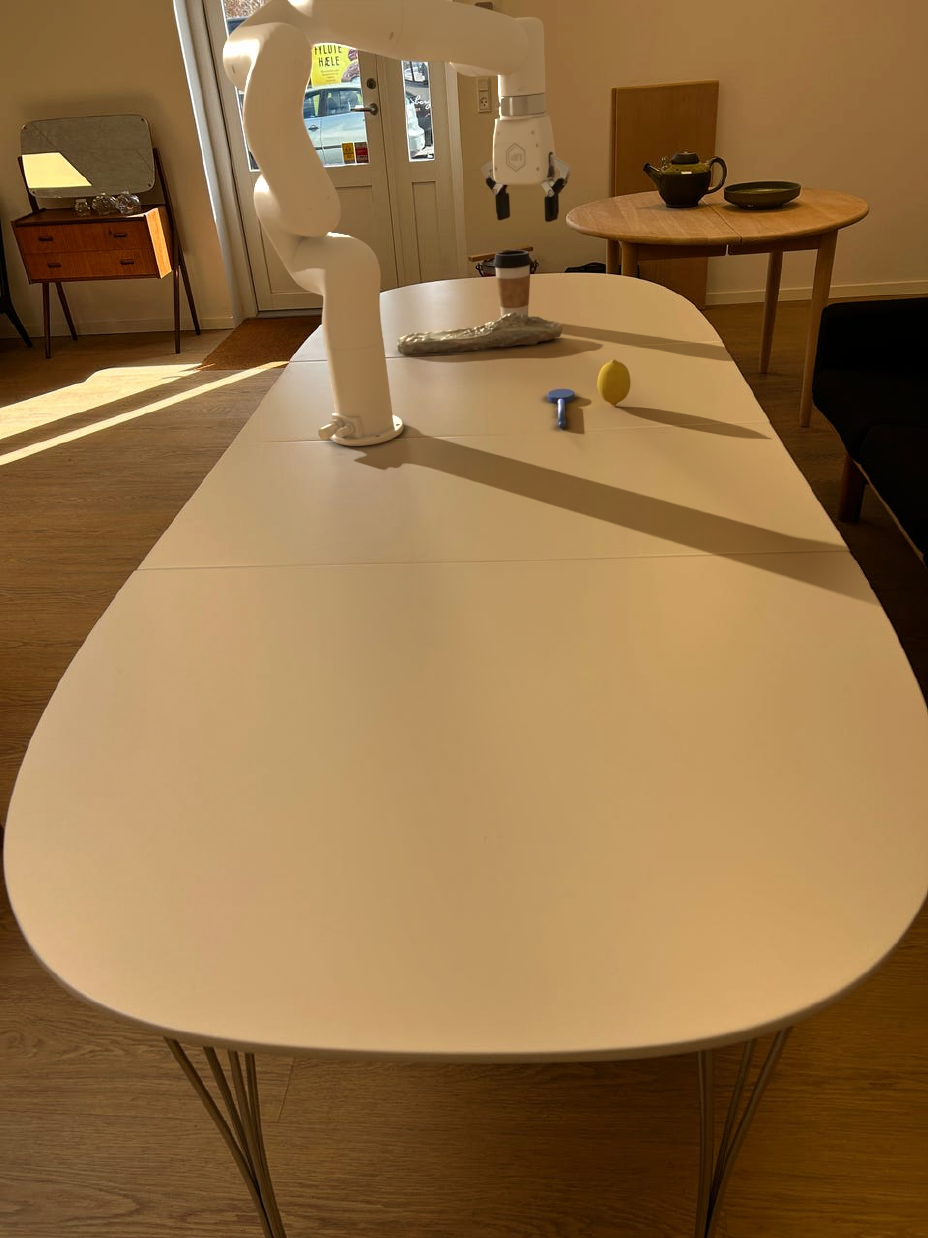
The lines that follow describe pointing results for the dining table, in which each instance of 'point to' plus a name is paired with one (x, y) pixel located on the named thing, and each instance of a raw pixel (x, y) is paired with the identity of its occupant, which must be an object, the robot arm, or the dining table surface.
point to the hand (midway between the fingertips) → (527, 219)
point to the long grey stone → (483, 335)
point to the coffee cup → (513, 281)
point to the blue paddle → (561, 402)
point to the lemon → (614, 382)
